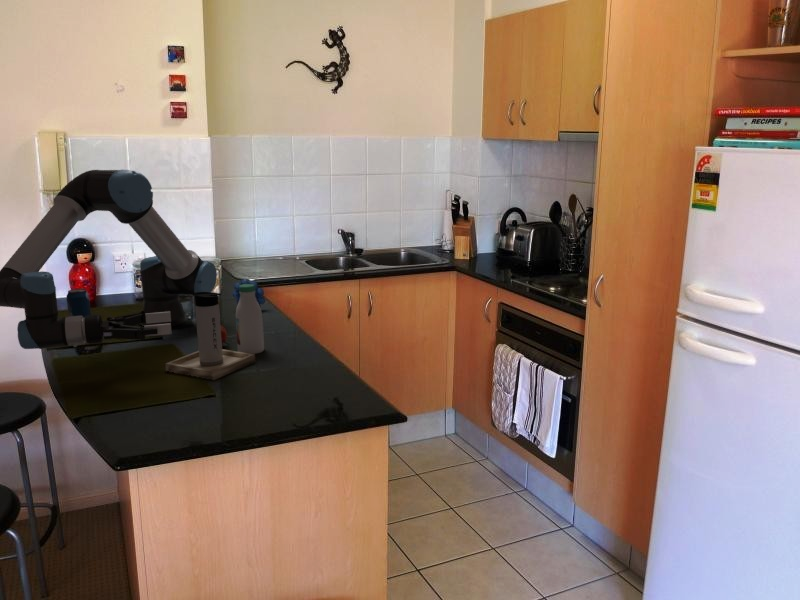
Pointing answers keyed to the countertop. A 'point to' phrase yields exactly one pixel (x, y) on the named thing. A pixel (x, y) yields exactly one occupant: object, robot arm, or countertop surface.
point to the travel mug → (208, 328)
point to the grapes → (258, 292)
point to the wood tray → (194, 368)
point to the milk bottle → (249, 322)
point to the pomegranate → (223, 335)
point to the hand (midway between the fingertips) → (171, 322)
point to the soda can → (78, 302)
